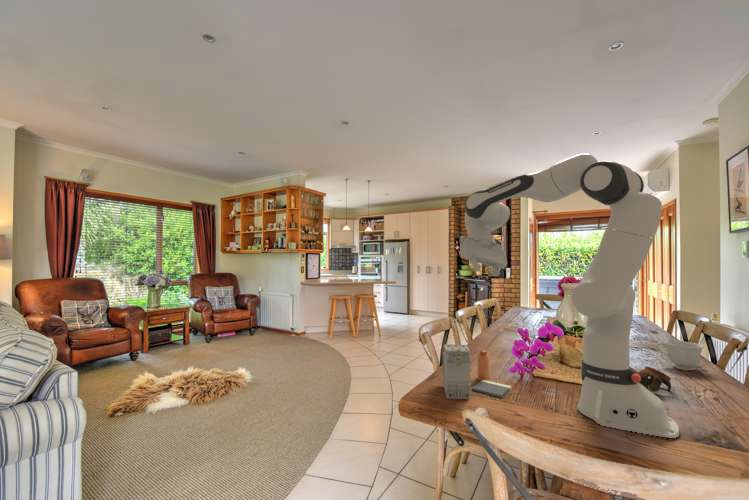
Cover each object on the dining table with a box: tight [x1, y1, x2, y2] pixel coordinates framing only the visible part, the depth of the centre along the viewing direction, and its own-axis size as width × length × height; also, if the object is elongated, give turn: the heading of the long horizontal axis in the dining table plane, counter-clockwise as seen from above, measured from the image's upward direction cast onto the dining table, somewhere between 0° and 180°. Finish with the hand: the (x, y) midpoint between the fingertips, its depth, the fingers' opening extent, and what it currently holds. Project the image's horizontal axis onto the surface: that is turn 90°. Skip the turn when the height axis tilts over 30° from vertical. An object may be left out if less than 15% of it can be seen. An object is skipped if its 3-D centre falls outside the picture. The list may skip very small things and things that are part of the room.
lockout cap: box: [477, 349, 490, 381], centre depth 123 cm, size 4×4×10 cm
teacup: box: [655, 339, 705, 371], centre depth 136 cm, size 12×15×10 cm
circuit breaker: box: [442, 343, 472, 400], centre depth 113 cm, size 8×14×15 cm, turn 174°
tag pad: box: [471, 380, 512, 399], centre depth 113 cm, size 10×10×1 cm
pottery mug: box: [638, 366, 672, 392], centre depth 113 cm, size 12×10×8 cm
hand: (487, 272), depth 121 cm, fingers open, 8 cm apart
